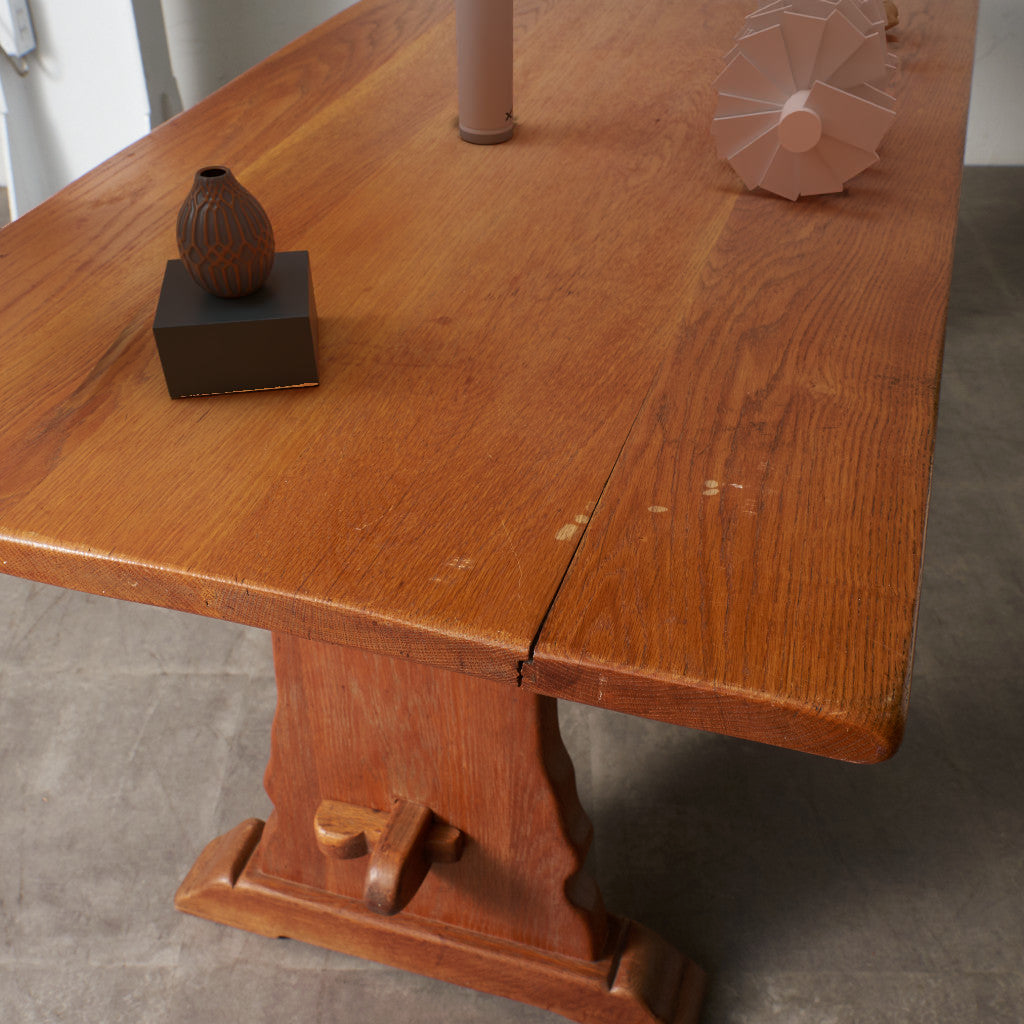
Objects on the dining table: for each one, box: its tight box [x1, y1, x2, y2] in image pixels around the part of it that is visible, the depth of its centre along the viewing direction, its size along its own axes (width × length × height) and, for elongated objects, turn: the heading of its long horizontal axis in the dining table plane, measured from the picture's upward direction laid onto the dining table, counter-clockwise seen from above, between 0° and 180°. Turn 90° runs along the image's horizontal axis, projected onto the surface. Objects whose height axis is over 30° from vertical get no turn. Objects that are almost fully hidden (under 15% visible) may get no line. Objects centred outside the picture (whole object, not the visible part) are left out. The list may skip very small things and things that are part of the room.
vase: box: [175, 165, 276, 298], centre depth 73 cm, size 7×7×9 cm
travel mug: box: [454, 0, 514, 145], centre depth 111 cm, size 6×7×20 cm
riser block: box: [151, 249, 320, 399], centre depth 78 cm, size 11×11×6 cm
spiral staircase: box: [709, 0, 898, 202], centre depth 105 cm, size 18×18×25 cm
